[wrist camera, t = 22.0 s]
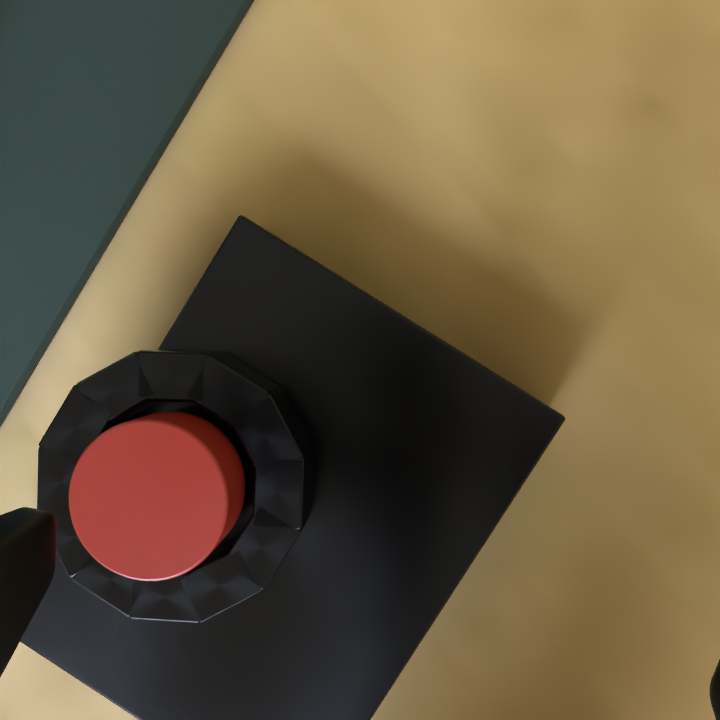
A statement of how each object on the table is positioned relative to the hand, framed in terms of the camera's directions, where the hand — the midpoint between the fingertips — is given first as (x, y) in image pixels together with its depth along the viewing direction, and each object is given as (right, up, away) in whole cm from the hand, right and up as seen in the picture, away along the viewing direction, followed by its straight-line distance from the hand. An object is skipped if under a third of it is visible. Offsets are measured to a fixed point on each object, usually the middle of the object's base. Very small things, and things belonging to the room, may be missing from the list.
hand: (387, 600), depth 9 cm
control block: (-3, -1, +11) cm, 12 cm away
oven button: (-5, 0, +8) cm, 9 cm away
